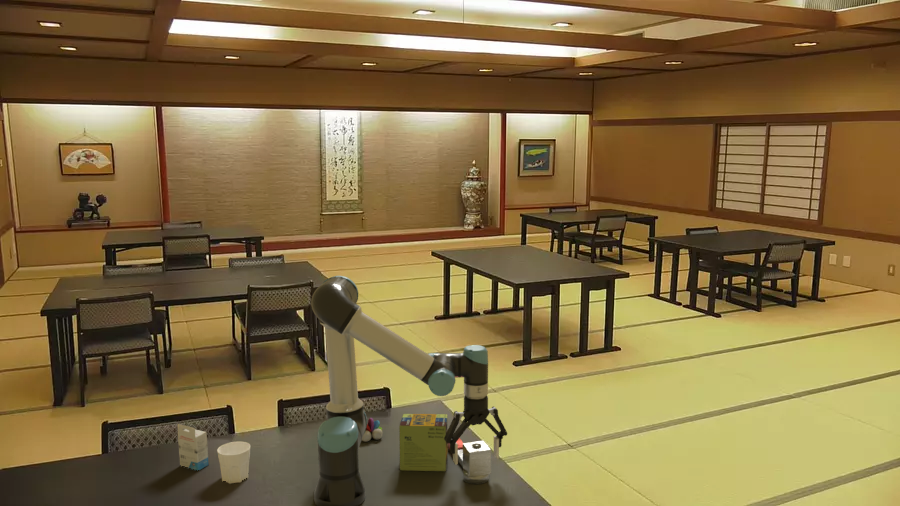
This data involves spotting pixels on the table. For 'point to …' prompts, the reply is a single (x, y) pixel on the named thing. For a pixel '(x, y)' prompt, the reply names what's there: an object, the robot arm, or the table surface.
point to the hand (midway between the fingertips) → (475, 459)
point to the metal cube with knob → (476, 458)
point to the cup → (234, 461)
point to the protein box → (423, 442)
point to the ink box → (192, 447)
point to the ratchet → (471, 480)
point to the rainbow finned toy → (372, 430)
